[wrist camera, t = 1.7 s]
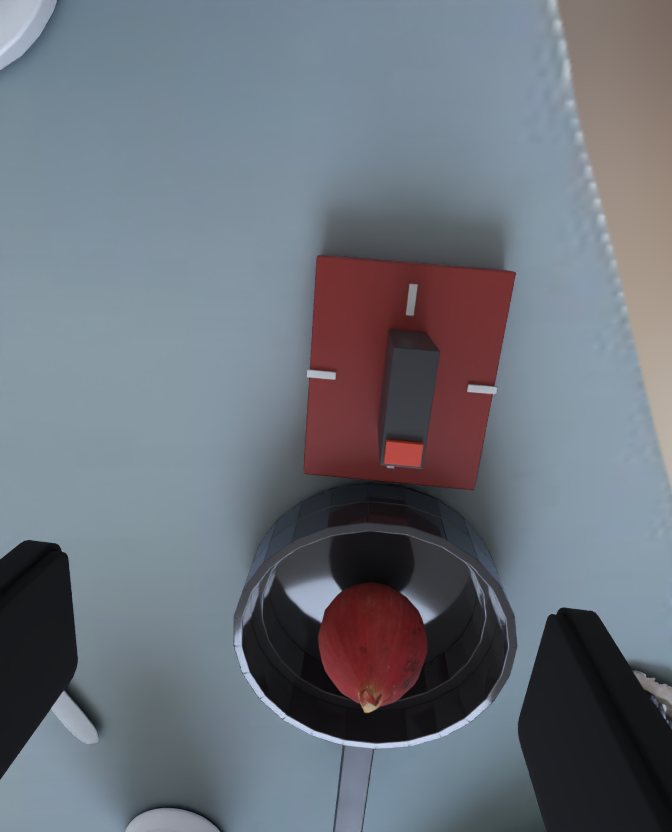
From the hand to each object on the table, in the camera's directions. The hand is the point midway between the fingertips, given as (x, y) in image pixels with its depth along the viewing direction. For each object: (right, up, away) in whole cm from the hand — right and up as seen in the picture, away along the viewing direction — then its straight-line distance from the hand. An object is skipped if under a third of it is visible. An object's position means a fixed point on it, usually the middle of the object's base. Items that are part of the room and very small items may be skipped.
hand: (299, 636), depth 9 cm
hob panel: (+4, +7, +16) cm, 18 cm away
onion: (+3, -7, +21) cm, 22 cm away
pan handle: (+2, -19, +22) cm, 29 cm away
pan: (+3, -7, +21) cm, 22 cm away
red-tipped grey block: (+4, +6, +14) cm, 16 cm away
